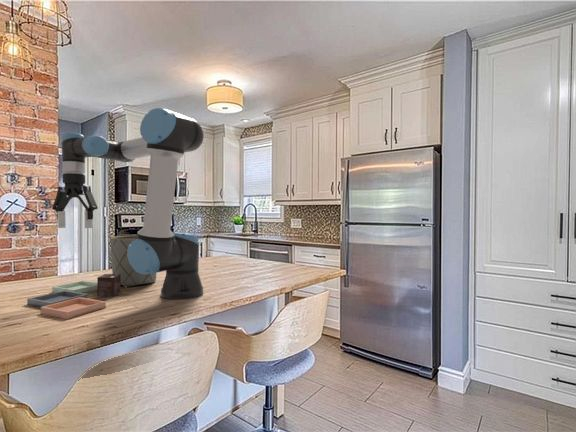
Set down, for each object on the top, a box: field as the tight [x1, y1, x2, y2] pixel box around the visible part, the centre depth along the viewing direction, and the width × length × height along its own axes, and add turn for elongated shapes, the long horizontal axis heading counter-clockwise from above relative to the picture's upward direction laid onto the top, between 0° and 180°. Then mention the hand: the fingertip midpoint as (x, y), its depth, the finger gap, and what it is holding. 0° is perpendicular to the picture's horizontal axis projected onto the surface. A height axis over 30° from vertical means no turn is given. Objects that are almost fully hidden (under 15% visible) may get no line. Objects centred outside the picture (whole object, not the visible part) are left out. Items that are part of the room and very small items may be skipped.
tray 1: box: [26, 291, 89, 308], centre depth 114 cm, size 12×12×2 cm
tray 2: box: [51, 280, 97, 294], centre depth 131 cm, size 12×12×2 cm
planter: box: [109, 234, 157, 288], centre depth 145 cm, size 19×19×20 cm
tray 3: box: [40, 297, 107, 320], centre depth 105 cm, size 12×12×2 cm
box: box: [96, 273, 122, 298], centre depth 124 cm, size 6×6×7 cm
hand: (74, 228), depth 131 cm, fingers open, 13 cm apart
